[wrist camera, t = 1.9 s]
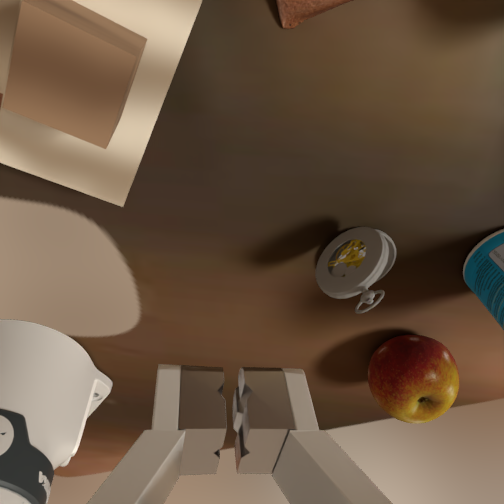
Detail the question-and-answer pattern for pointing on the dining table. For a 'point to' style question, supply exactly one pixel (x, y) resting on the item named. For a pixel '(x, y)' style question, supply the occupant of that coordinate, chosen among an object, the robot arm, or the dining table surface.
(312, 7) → the sunglasses case
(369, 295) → the pocket watch
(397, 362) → the fruit
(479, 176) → the dining table surface
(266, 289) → the dining table surface
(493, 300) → the blue labeled canister
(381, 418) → the dining table surface
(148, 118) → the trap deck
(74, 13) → the walnut block
